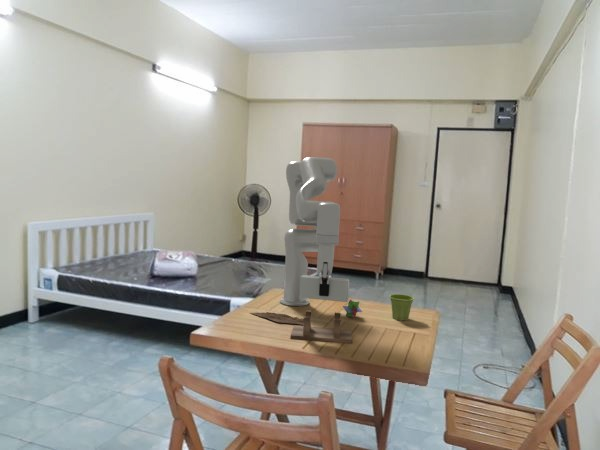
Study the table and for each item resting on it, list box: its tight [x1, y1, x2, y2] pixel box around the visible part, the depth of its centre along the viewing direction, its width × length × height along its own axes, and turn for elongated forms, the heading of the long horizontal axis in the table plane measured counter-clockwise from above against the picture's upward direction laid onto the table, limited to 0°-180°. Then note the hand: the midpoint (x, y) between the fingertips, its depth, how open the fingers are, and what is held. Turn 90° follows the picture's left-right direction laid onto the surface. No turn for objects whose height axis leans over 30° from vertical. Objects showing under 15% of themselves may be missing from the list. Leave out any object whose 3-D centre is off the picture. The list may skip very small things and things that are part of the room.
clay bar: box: [299, 274, 350, 303], centre depth 159 cm, size 4×16×7 cm, turn 79°
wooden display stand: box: [289, 309, 353, 344], centre depth 160 cm, size 11×20×7 cm, turn 85°
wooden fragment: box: [250, 311, 304, 326], centre depth 177 cm, size 26×11×1 cm, turn 59°
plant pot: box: [389, 293, 415, 321], centre depth 187 cm, size 9×9×9 cm
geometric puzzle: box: [342, 299, 363, 320], centre depth 185 cm, size 7×7×8 cm
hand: (324, 293), depth 159 cm, fingers closed on clay bar, 4 cm apart
